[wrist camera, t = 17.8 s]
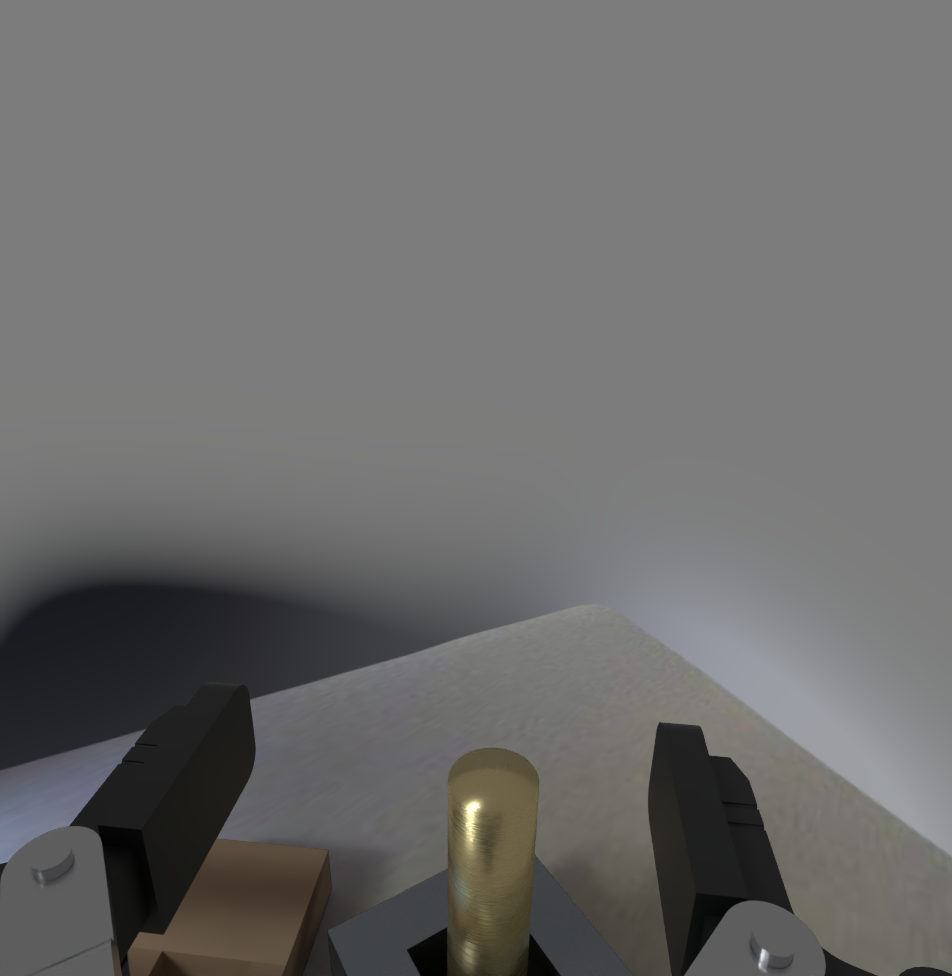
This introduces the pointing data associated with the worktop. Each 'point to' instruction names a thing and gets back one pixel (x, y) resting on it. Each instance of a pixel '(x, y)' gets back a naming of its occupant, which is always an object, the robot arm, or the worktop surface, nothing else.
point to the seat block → (423, 935)
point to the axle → (490, 862)
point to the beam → (242, 914)
